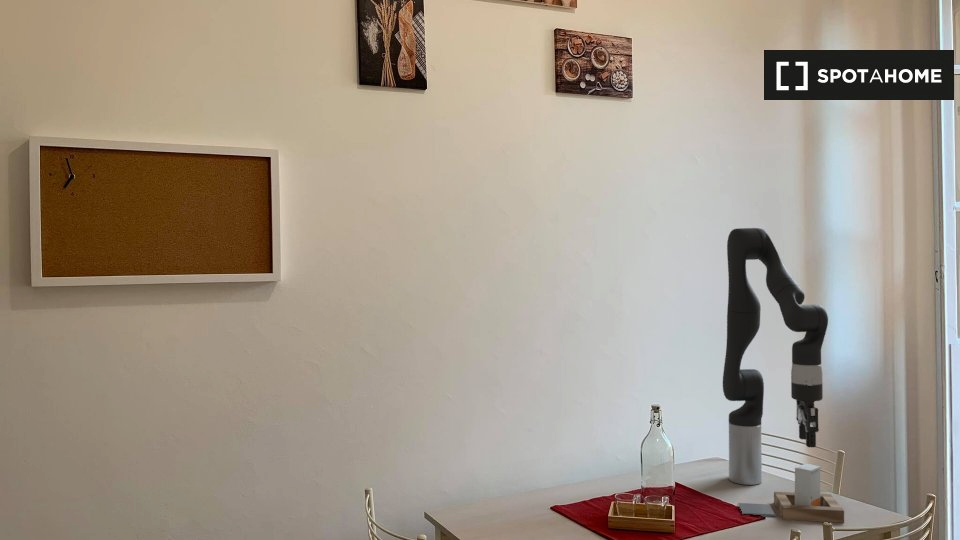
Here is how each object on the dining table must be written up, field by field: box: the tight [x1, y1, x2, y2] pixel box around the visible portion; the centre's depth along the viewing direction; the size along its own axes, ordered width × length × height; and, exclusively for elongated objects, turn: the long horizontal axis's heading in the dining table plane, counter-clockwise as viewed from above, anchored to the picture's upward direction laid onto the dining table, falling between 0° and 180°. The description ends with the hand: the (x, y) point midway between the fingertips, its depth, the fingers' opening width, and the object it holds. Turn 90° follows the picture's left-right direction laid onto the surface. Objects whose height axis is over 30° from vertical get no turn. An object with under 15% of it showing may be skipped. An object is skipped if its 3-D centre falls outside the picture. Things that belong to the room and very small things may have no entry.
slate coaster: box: [737, 502, 776, 518], centre depth 203 cm, size 8×8×1 cm
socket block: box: [773, 491, 845, 523], centre depth 201 cm, size 13×14×3 cm
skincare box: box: [794, 463, 821, 506], centre depth 201 cm, size 6×4×12 cm
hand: (807, 443), depth 201 cm, fingers open, 8 cm apart
